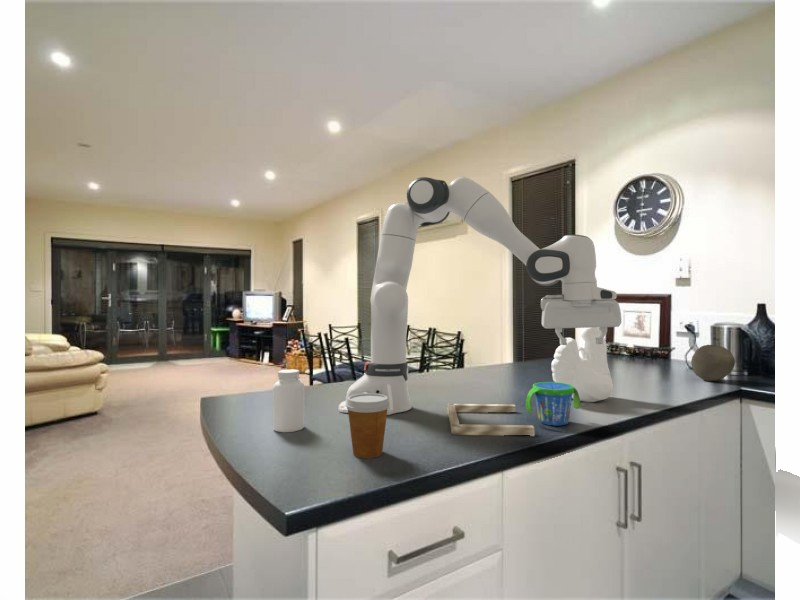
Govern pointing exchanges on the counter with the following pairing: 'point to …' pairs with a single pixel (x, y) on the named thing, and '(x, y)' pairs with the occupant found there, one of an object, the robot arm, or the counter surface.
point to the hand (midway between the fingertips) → (581, 344)
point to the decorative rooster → (584, 366)
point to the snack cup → (553, 402)
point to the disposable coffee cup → (367, 423)
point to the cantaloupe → (712, 362)
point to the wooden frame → (485, 429)
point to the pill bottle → (288, 402)
